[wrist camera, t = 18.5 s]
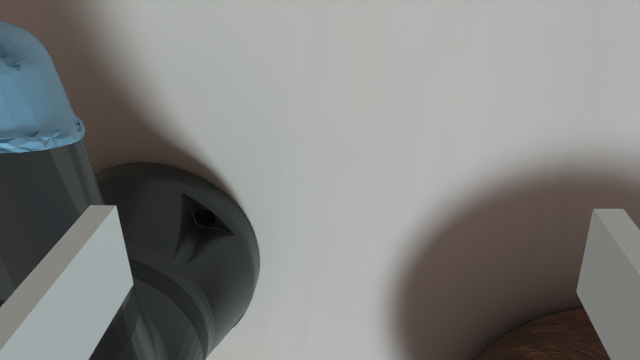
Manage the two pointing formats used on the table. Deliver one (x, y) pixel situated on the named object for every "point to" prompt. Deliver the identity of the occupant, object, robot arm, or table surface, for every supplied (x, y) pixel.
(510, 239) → the table surface
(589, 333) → the wooden bowl
